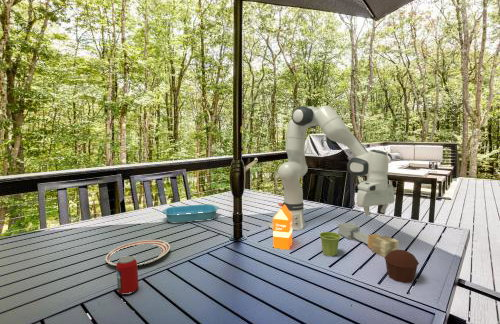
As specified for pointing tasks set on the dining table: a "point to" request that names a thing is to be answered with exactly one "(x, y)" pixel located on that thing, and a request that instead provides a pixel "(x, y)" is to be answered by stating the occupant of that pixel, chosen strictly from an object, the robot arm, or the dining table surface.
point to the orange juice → (282, 229)
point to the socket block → (384, 245)
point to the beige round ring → (162, 244)
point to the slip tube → (364, 237)
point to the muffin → (401, 266)
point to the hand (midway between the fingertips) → (375, 214)
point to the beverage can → (127, 274)
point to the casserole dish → (207, 210)
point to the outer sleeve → (347, 230)
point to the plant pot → (330, 243)
